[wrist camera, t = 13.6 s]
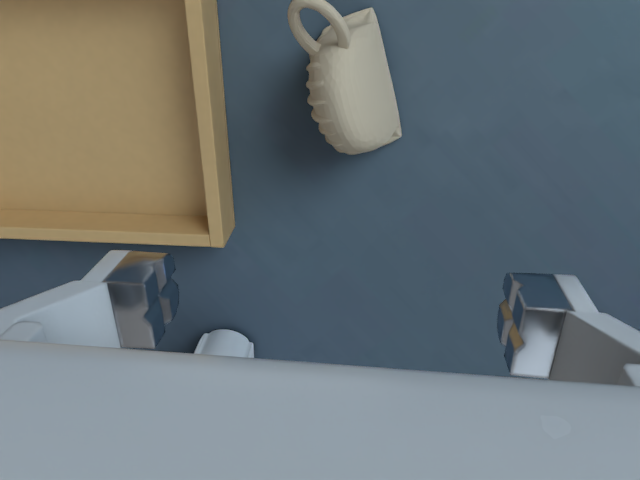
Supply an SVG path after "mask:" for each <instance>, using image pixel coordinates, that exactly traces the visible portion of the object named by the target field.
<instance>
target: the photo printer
mask: <svg viewBox="0 0 640 480" xmlns="http://www.w3.org/2000/svg"><path fill="white" fill-rule="evenodd" d="M194 354H206V355H219V356H233V357H246V358H254V346H253V343H252V342H249V341H248V339H247V338H246V337H245V336H244V335H242V334H240V333H238V332H235V331H232V330H227V329H219V330H214V331H212V332H210V333H209V334H207V333H204V334H203V336H202V337H201V339H200V341H199V343H198V345H197V347H196V349H195V352H194Z"/></svg>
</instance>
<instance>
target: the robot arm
mask: <svg viewBox="0 0 640 480" xmlns="http://www.w3.org/2000/svg"><path fill="white" fill-rule="evenodd" d="M175 270H176V269H175V263H174V258H173V257H172V255H171V254H167V253H153V252H140V251H131V250H110V251H109V252H108V253H107V254H106V255H105V256H104V257H103V258H102V259H101V260H100V261H99V262H98V263H97V264H96V265H95V266H94V267H93V268H92V269H91V270H90V271H89V272H88V273H87V274H86V275H85V276H84V277H83V278H82V279H81V280H80V281H72V282H69V283H66V284H64V285H61V286H59V287H56V288H53V289H51V290H48V291H45V292H43V293H40V294H38V295H35V296H32V297H30V298H27V299H25V300H22V301H19V302H17V303H14V304H11V305H9V306H6V307H4V308H1V309H0V480H640V331H638V330H636V329H634V328H632V327H630V326H629V325H627V324H625V323H623V322H621V321H619V320H618V319H616V318H614V317H612V316H610V315H609V314H607V313H599V312H598V310H597V308H596V307H595V305H594V304H593V302H592V301H591V299H590V297H589V296H588V294H587V293H586V291H585V289H584V288H583V286H582V285H581V283H580V281H579V280H578V278H577V277H576V276H574V275H566V274H536V273H506V276H505V279H504V283H503V288H502V289H503V292H504V295H505V297H506V299H505V300H504V301H503V302H502V303H501V304H500V305H499V311H498V321H497V329H498V336H499V340H500V343H501V344H502V345H504V346H505V347H506V349H505V354H504V357H505V360H506V363H507V366H508V369H509V372H510V375H516V376H526V377H536V378H546V379H549V380H544V379H530V378H517V377H503V376H490V375H476V374H462V373H449V372H435V371H422V370H408V369H395V368H381V367H367V366H354V365H340V364H327V363H313V362H300V361H287V360H273V359H260V358H246V357H233V356H219V355H206V354H192V353H179V352H165V351H152V350H138V349H125V348H121V347H127V348H149V349H155V348H156V346H157V345H158V343H159V341H160V340H161V338H162V337H163V335H164V333H165V326H164V325H165V324H167V323H169V322H171V321H172V320H173V318H174V316H175V315H176V312H177V308H178V304H179V289H178V285H177V283H176V282H175V281H174V280H173V279H172V278H171V276H172V274H173V273H174V271H175Z"/></svg>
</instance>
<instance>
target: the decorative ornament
mask: <svg viewBox="0 0 640 480" xmlns="http://www.w3.org/2000/svg"><path fill="white" fill-rule="evenodd" d="M303 8H310V9H313V10H316V11H318V12H319V13H320V14H322V15H323V16H324V17H325V18H326V19H327V20H328V21H329V22H330V24H331V25H330V26H328V27H326V28H325V29H324V30H323V32H322V34H321V36H320V37H319V38H318V40H317V42H316V41H315V40H314V39H312V38H311V36H310V35H309V34H308V33H307V32H306V30H305V29H304V27H303V25H302V23H301V20H300V14H299V13H300V10H301V9H303ZM288 22H289V25H290V28H291V31H292V33H293V35H294V37H295V38H296V40H297V41H298V42H299V44H300V45H301V46H302V47H303V48H304V50H305V51H307V52H308V53H309V58H310V64H309V65H308V66H307V68H306V70H307V71H308V72H309V80H308V81H307V83H306V87H308V88H309V89H310V95H309V97H308V100H307V101H308V103H309V104H310V105H311V106H313V107H314V108H313V110H312V112H311V116H312V118H313V119H314V120H315V121H316V122H318V123H319V131H320V132H321V133H322V134H325V139H326V141H327V142H328V143H329V144H331V145H333V147H334V148H335V149H336V151H338V152H340V153H346V154H350V155H354V154H359V153H364V152H369V151H373V150H375V149H377V148H379V147H380V146H383V145H386V144H388V143H390V142H392V141H395V140H397V139H398V138H400V137H401V136H402V133H401V125H400V119H399V113H398V107H397V102H396V98H395V93H394V89H393V84H392V80H391V76H390V72H389V67H388V63H387V59H386V54H385V50H384V45H383V41H382V37H381V32H380V28H379V24H378V20H377V17H376V14H375V12H374V10H373V8H368V9H364V10H361V11H358V12H355V13H352V14H350V15H347V16H345V17H343V18H342V16H341V15H340V14H339V13H338V12H337V11H336V9H335V8H334V7H333V6H332V5H331V4H329V3H328V2H326V1H325V0H292V2H291V3H290V6H289V8H288Z"/></svg>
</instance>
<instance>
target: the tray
mask: <svg viewBox="0 0 640 480" xmlns="http://www.w3.org/2000/svg"><path fill="white" fill-rule="evenodd" d="M234 228H235V219H234V206H233V194H232V182H231V170H230V158H229V145H228V133H227V121H226V109H225V96H224V84H223V72H222V60H221V47H220V35H219V23H218V11H217V0H0V238H4V239H29V240H53V241H78V242H102V243H127V244H152V245H176V246H201V247H210V246H211V247H221V248H223V247H224V246H225V244H226V242H227V241H228V239H229V237H230V235H231V233H232V231H233V229H234Z"/></svg>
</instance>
